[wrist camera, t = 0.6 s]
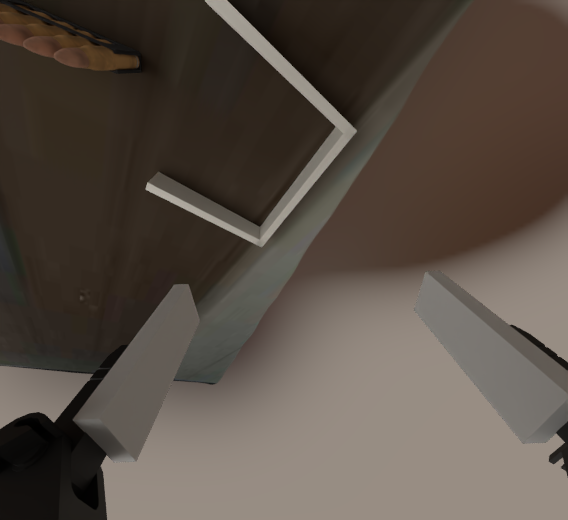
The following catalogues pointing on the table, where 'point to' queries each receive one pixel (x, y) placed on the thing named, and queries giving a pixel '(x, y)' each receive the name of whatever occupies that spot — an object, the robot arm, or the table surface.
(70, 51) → the ammunition clip
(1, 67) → the table surface
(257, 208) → the table surface
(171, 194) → the box
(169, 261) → the table surface
